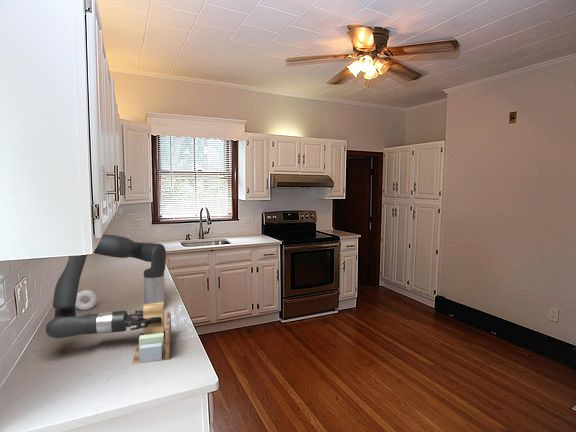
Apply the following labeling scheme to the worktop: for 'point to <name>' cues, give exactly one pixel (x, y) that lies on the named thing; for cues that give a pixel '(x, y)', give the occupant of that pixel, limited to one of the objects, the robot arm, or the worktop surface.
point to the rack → (166, 343)
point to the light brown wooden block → (154, 311)
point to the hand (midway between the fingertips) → (161, 317)
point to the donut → (92, 300)
